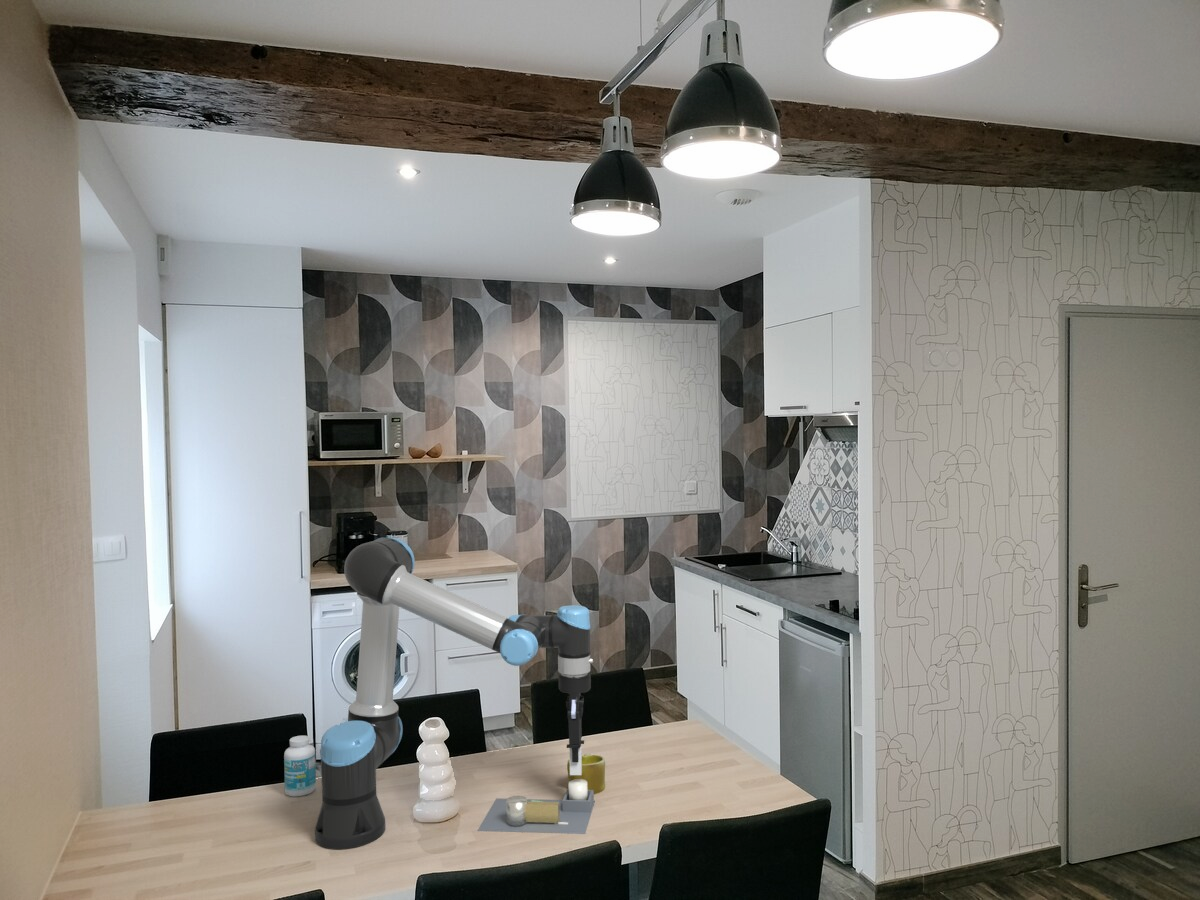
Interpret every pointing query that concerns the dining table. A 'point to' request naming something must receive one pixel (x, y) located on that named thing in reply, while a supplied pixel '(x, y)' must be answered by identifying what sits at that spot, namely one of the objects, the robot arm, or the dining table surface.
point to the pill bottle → (299, 767)
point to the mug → (591, 772)
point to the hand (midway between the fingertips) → (575, 773)
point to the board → (570, 822)
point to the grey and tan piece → (531, 811)
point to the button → (578, 789)
